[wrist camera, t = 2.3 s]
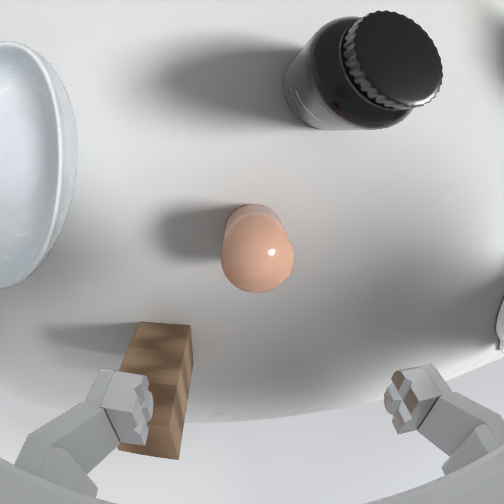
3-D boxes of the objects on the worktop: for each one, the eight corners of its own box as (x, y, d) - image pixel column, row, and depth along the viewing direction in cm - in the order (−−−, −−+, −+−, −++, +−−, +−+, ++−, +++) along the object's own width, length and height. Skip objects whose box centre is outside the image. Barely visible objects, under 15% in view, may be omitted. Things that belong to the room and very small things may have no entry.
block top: (177, 385, 20) (169, 426, 16) (183, 422, 22) (178, 459, 18) (115, 377, 20) (100, 415, 16) (129, 415, 21) (118, 450, 18)
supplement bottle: (275, 120, 21) (313, 99, 10) (289, 43, 19) (334, -31, 7) (357, 140, 22) (450, 149, 11) (369, 67, 19) (460, 29, 8)
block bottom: (190, 325, 27) (184, 351, 24) (193, 363, 29) (188, 390, 25) (140, 321, 27) (129, 346, 23) (147, 359, 29) (139, 385, 25)
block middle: (184, 351, 24) (177, 385, 20) (188, 390, 25) (184, 422, 22) (129, 346, 23) (115, 377, 20) (139, 384, 25) (129, 415, 21)
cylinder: (283, 205, 24) (297, 226, 18) (279, 258, 25) (290, 293, 20) (226, 203, 23) (221, 223, 18) (224, 256, 25) (220, 291, 19)
